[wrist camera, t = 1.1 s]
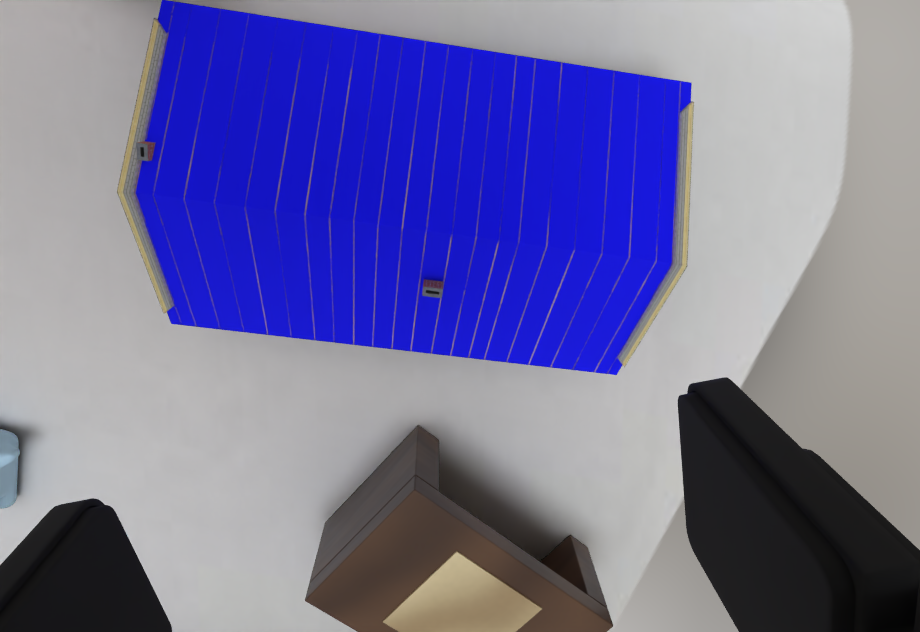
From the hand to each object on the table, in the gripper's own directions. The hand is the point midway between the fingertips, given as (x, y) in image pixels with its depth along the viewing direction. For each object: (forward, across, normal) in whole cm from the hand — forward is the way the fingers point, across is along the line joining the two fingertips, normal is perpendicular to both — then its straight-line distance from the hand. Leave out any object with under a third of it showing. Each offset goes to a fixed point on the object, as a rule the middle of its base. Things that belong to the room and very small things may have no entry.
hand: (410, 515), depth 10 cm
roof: (+22, 0, -2) cm, 22 cm away
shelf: (+22, +2, +20) cm, 29 cm away
